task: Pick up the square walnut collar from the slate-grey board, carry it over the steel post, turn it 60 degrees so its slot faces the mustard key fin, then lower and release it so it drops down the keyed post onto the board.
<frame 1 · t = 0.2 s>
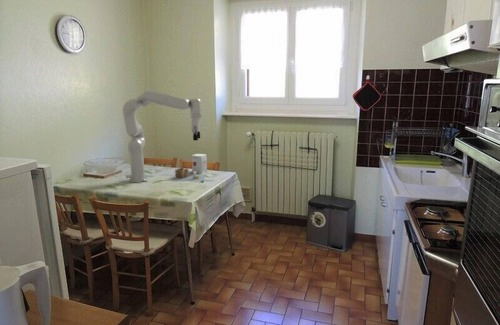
hand: (196, 139, 258), 30 cm above the table, fingers open, 9 cm apart
collar: (182, 176, 266), point 1 cm above the table, touching post board
supplement box: (199, 173, 283), on the table
post board: (189, 179, 264), on the table
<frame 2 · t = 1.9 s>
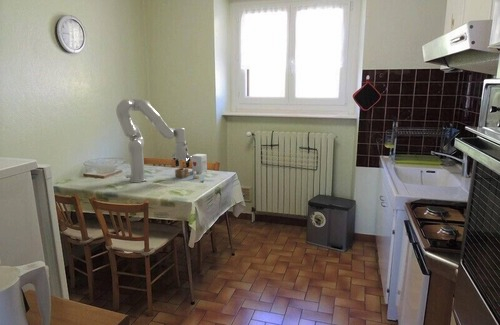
hand: (182, 166, 265), 9 cm above the table, fingers open, 9 cm apart
nothing on the table moved.
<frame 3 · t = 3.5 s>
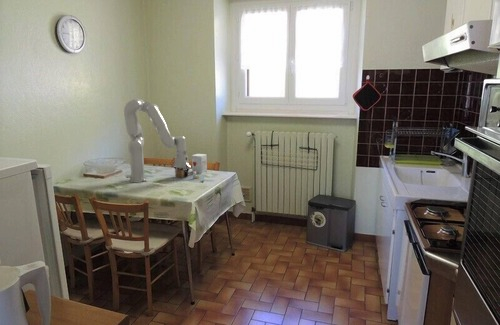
hand: (182, 175, 266), 2 cm above the table, fingers closed on collar, 7 cm apart
collar: (182, 176, 266), point 1 cm above the table, touching gripper, post board
everything else where it was.
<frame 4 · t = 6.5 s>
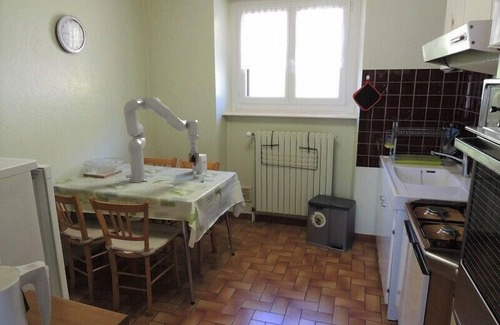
hand: (193, 160, 259), 15 cm above the table, fingers closed on collar, 7 cm apart
collar: (194, 161, 259), point 14 cm above the table, touching gripper
everything else where it was.
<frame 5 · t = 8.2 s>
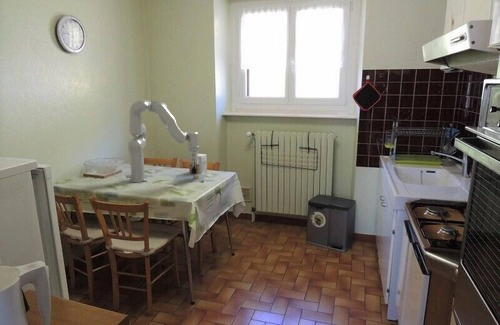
hand: (194, 172, 261), 6 cm above the table, fingers closed on collar, 7 cm apart
collar: (194, 173, 261), point 5 cm above the table, touching gripper
everything else where it was.
when the fingers open (4 cm above the table, at t = 9.5 s): collar drops 2 cm, resting on post board.
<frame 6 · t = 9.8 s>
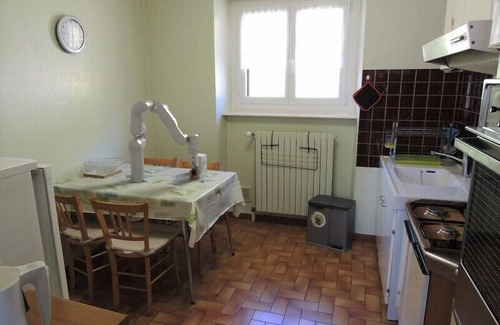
hand: (194, 173, 261), 5 cm above the table, fingers open, 9 cm apart
collar: (194, 178, 262), point 1 cm above the table, touching post board
everything else where it was.
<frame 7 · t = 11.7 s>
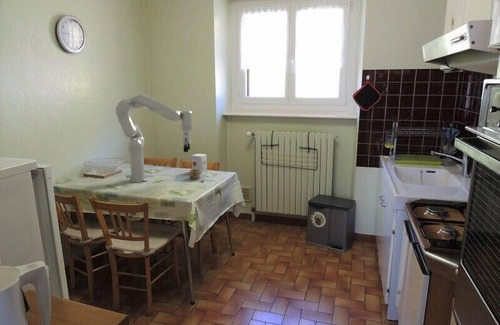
hand: (186, 150, 261), 22 cm above the table, fingers open, 9 cm apart
nothing on the table moved.
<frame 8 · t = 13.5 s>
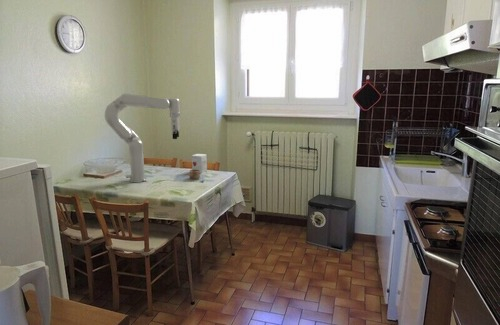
hand: (175, 138, 265), 30 cm above the table, fingers open, 9 cm apart
nothing on the table moved.
at the end: collar 0.0 cm from the target spot on the post board, point 1.2 cm above the post board's base; collar tilted 0°; the gripper is holding nothing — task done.
